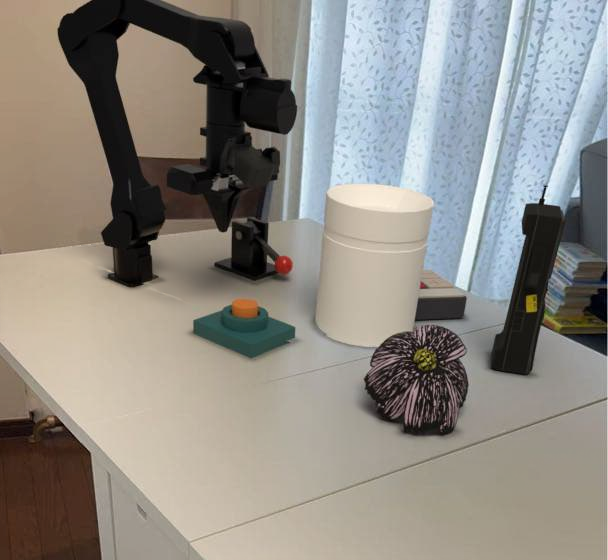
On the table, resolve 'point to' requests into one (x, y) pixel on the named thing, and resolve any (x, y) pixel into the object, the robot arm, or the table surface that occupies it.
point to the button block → (244, 331)
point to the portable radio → (529, 288)
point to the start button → (245, 308)
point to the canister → (371, 262)
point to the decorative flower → (419, 379)
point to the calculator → (438, 298)
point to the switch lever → (271, 252)
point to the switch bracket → (248, 252)
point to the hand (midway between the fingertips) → (222, 231)
